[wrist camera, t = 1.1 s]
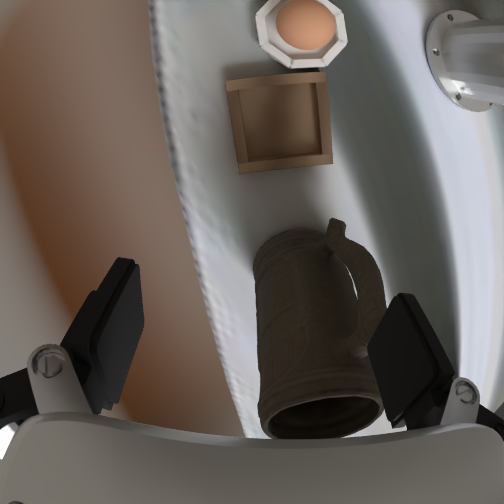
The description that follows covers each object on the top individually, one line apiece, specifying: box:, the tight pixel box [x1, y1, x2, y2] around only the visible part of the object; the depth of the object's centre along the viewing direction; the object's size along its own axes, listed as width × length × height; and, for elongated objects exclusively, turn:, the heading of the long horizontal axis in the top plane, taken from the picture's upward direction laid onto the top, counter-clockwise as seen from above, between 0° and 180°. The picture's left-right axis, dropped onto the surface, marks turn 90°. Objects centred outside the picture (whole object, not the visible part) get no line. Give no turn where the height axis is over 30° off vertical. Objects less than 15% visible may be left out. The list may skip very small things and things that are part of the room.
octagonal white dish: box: [255, 0, 347, 69], centre depth 22 cm, size 8×8×2 cm
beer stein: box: [253, 218, 387, 440], centre depth 27 cm, size 15×11×20 cm
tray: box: [225, 72, 333, 174], centre depth 26 cm, size 9×9×2 cm
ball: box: [276, 0, 336, 50], centre depth 20 cm, size 5×5×5 cm
